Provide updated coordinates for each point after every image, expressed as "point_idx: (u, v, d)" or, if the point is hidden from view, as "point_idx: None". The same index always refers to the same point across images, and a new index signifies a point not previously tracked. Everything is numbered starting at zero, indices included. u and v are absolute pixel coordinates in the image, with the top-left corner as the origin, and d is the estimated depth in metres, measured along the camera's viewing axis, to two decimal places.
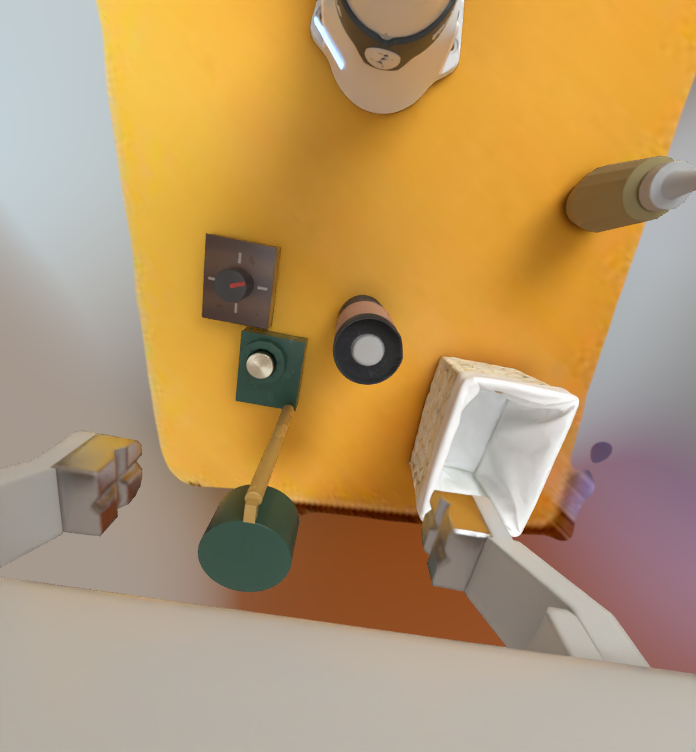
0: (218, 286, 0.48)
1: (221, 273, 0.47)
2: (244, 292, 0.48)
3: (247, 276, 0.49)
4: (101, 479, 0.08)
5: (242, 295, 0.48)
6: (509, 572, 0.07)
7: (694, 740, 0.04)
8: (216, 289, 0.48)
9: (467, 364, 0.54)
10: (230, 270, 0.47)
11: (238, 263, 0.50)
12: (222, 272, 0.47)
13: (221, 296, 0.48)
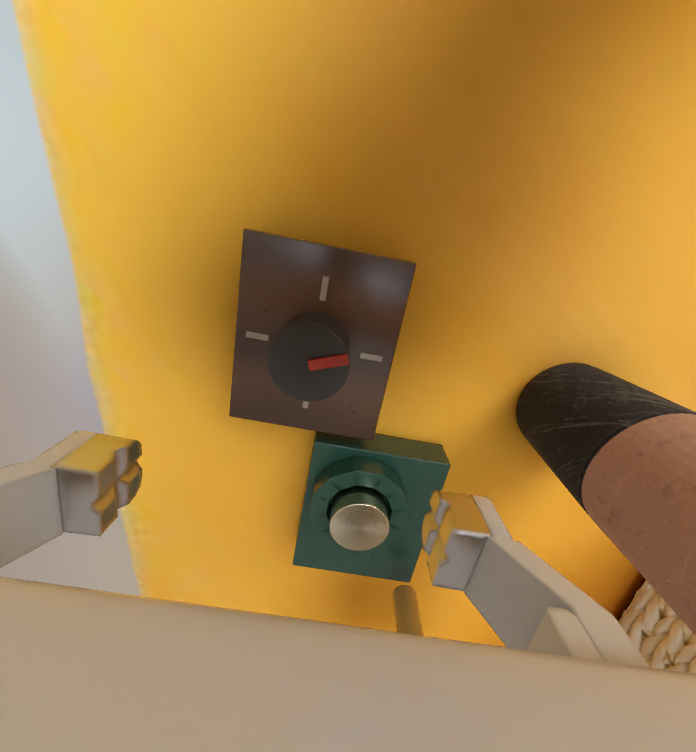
0: (278, 365, 0.19)
1: (288, 335, 0.18)
2: (343, 379, 0.19)
3: (344, 334, 0.20)
4: (101, 479, 0.08)
5: (337, 386, 0.19)
6: (509, 572, 0.07)
7: (694, 740, 0.04)
8: (272, 372, 0.19)
9: None
10: (312, 326, 0.18)
11: (320, 301, 0.21)
12: (290, 331, 0.18)
13: (284, 388, 0.19)
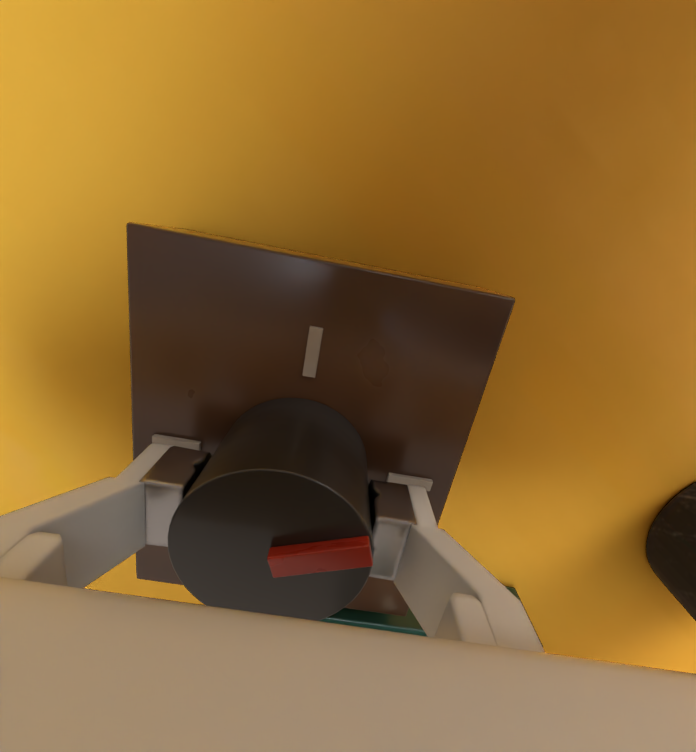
0: (196, 559, 0.07)
1: (215, 495, 0.07)
2: (357, 586, 0.08)
3: (357, 457, 0.09)
4: (185, 492, 0.08)
5: (343, 601, 0.08)
6: (428, 560, 0.07)
7: (694, 740, 0.04)
8: (183, 573, 0.08)
9: None
10: (276, 477, 0.07)
11: (305, 376, 0.10)
12: (221, 488, 0.07)
13: (215, 603, 0.08)
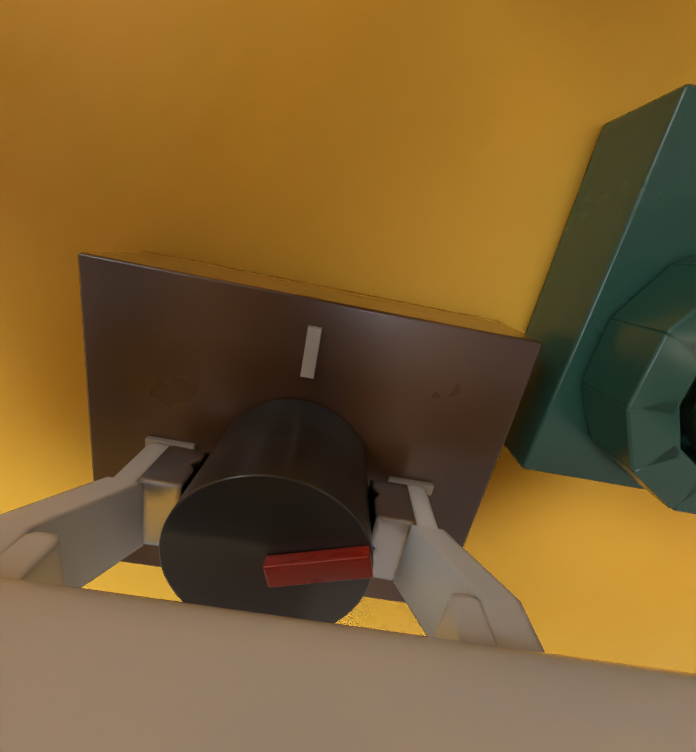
0: (188, 566, 0.07)
1: (210, 501, 0.07)
2: (355, 596, 0.07)
3: (358, 462, 0.09)
4: (183, 492, 0.08)
5: (341, 612, 0.08)
6: (428, 560, 0.07)
7: (694, 740, 0.04)
8: (175, 580, 0.07)
9: None
10: (275, 483, 0.06)
11: None
12: (216, 493, 0.07)
13: None
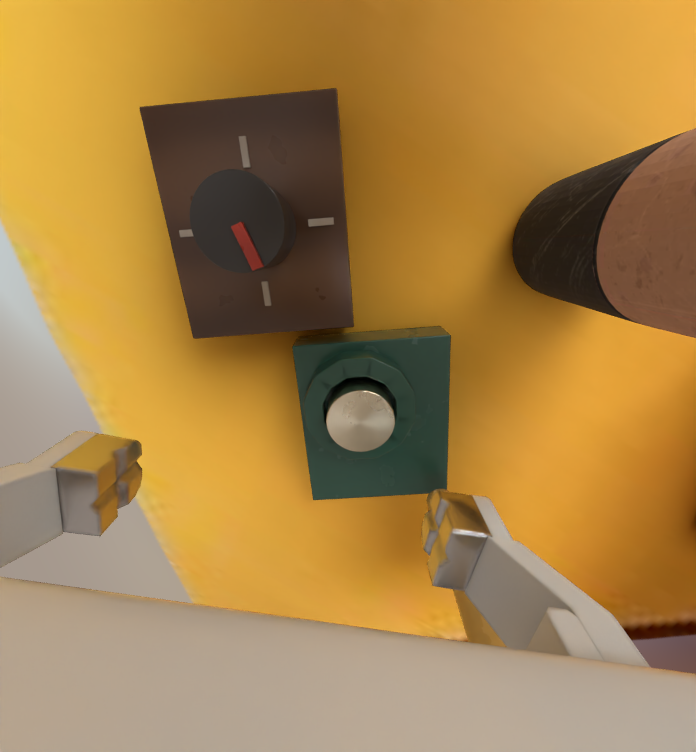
0: (223, 185, 0.15)
1: (263, 191, 0.16)
2: (233, 269, 0.17)
3: (281, 258, 0.19)
4: (101, 479, 0.08)
5: (223, 264, 0.17)
6: (509, 572, 0.07)
7: (694, 740, 0.04)
8: (212, 179, 0.15)
9: None
10: (281, 218, 0.16)
11: (245, 169, 0.18)
12: (268, 193, 0.16)
13: (197, 199, 0.16)
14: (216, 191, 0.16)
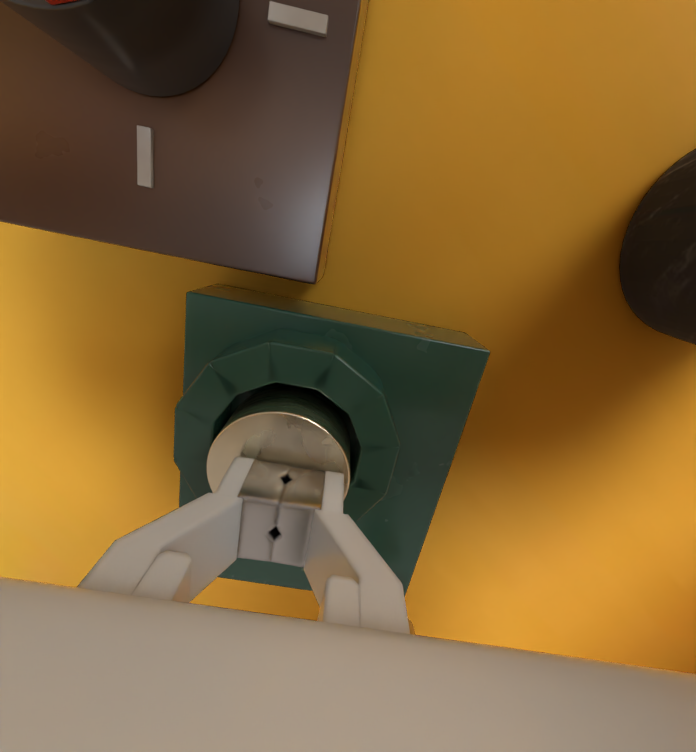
0: None
1: None
2: None
3: (175, 55, 0.07)
4: None
5: None
6: (326, 544, 0.07)
7: (694, 740, 0.04)
8: None
9: None
10: None
11: None
12: None
13: None
14: None
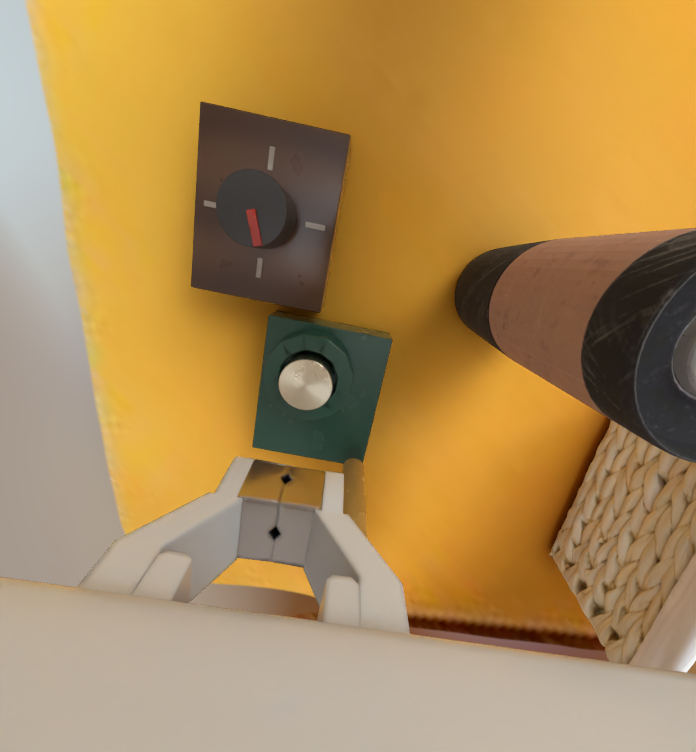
0: (248, 179, 0.21)
1: (276, 192, 0.21)
2: (239, 241, 0.22)
3: (277, 244, 0.24)
4: None
5: (232, 235, 0.22)
6: (326, 544, 0.07)
7: (694, 740, 0.04)
8: (241, 173, 0.21)
9: None
10: (284, 215, 0.21)
11: (268, 171, 0.24)
12: (279, 195, 0.21)
13: (226, 183, 0.21)
14: (242, 182, 0.21)
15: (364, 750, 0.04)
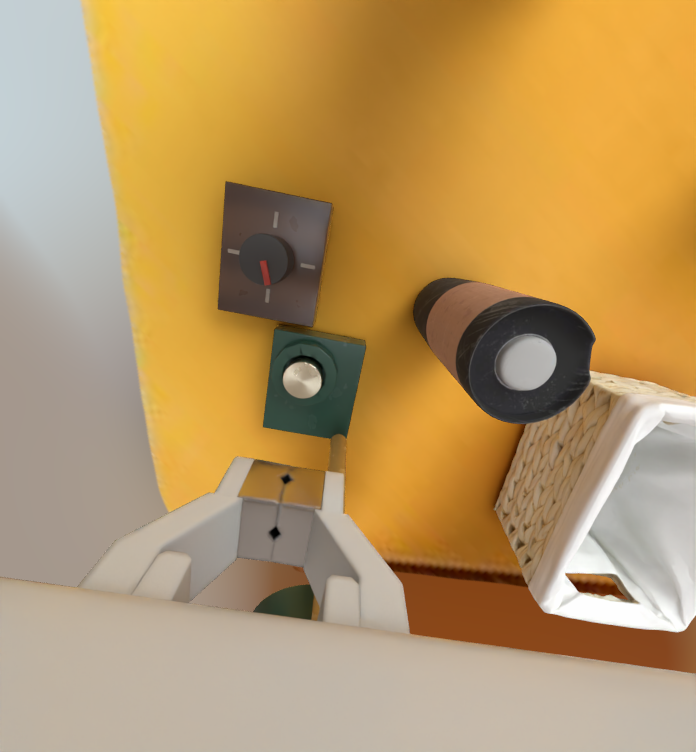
0: (261, 240, 0.30)
1: (280, 248, 0.31)
2: (254, 281, 0.32)
3: None
4: None
5: (250, 277, 0.32)
6: (326, 544, 0.07)
7: (694, 740, 0.04)
8: (256, 236, 0.30)
9: (598, 377, 0.38)
10: (286, 264, 0.31)
11: (274, 228, 0.33)
12: (282, 250, 0.31)
13: (246, 243, 0.31)
14: (257, 242, 0.31)
15: (364, 750, 0.04)
